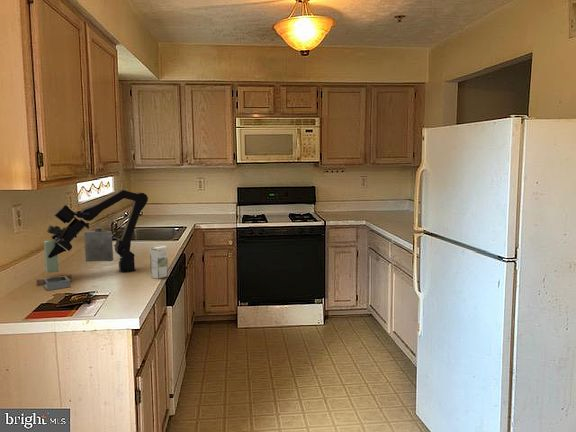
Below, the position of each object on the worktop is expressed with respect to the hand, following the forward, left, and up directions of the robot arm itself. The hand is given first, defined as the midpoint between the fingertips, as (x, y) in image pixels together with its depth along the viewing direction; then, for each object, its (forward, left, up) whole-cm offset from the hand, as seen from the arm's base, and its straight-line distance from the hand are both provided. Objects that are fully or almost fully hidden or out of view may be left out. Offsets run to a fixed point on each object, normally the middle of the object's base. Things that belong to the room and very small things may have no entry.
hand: (47, 256), depth 215 cm
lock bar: (-1, 0, -7) cm, 7 cm away
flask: (-29, -30, -11) cm, 44 cm away
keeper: (-1, +13, -11) cm, 17 cm away
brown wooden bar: (-1, +6, -11) cm, 12 cm away
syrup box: (-42, +24, -11) cm, 50 cm away
